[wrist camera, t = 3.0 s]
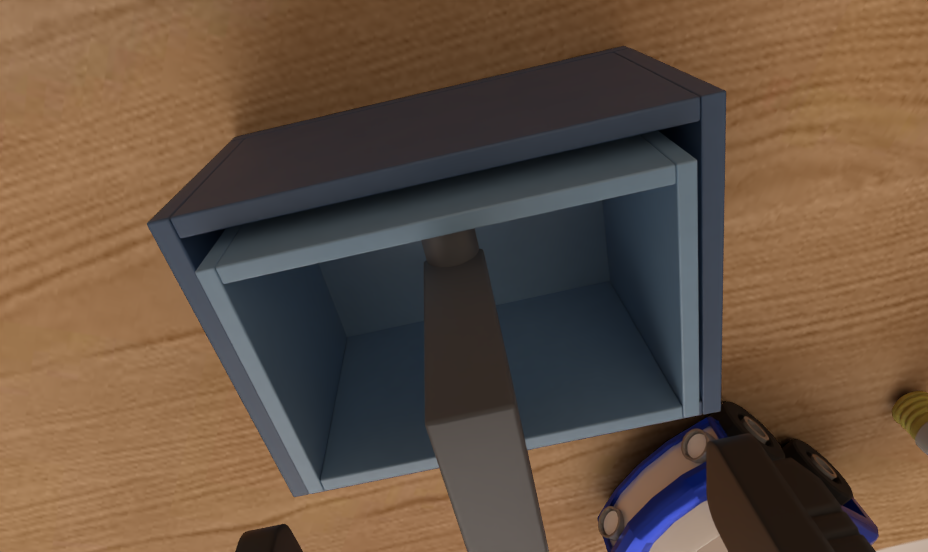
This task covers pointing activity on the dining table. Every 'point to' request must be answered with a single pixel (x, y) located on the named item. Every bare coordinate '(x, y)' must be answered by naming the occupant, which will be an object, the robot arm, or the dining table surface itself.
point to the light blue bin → (472, 323)
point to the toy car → (700, 489)
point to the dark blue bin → (452, 174)
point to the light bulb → (914, 416)
